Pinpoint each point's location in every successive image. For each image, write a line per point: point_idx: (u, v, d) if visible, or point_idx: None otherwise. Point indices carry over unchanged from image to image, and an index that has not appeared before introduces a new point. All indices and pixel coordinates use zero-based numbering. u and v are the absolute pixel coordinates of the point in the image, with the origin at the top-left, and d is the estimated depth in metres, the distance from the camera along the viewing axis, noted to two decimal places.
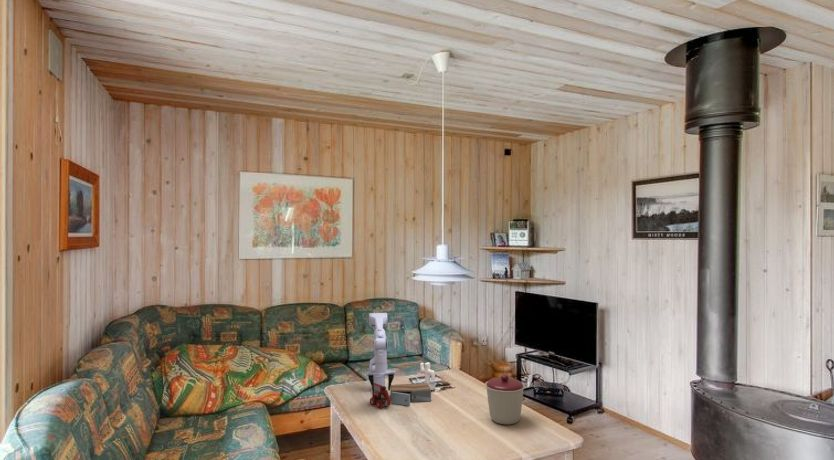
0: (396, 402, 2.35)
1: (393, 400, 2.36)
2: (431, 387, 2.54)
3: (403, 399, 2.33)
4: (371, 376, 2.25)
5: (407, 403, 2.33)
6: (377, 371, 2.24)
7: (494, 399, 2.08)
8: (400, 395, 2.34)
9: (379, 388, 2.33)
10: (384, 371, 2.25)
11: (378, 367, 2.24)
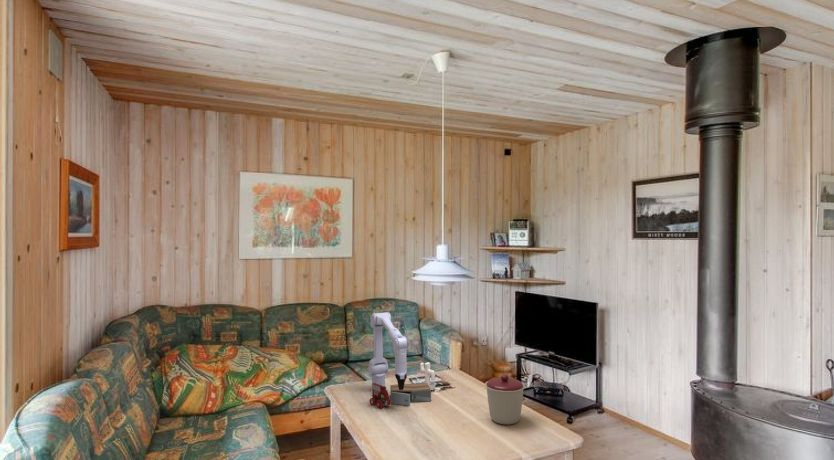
0: (396, 402, 2.35)
1: (393, 400, 2.36)
2: (431, 387, 2.54)
3: (403, 399, 2.33)
4: None
5: (407, 403, 2.33)
6: None
7: (494, 399, 2.08)
8: (400, 395, 2.34)
9: (379, 388, 2.33)
10: (396, 370, 2.28)
11: None
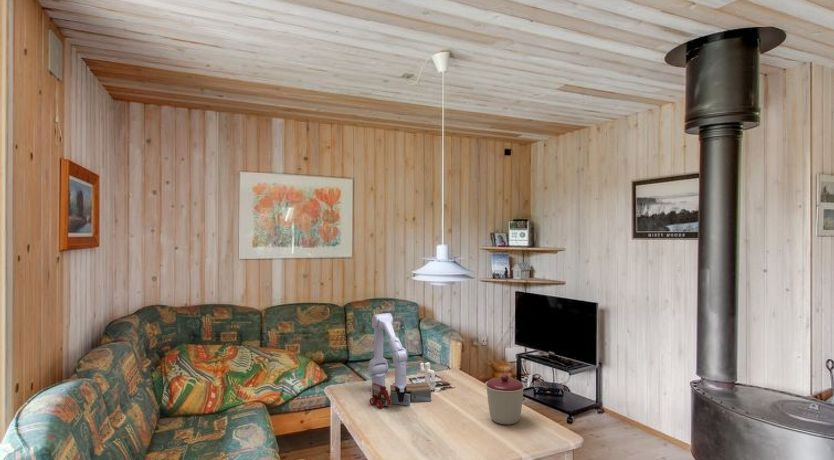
0: (396, 402, 2.35)
1: (393, 400, 2.36)
2: (431, 387, 2.54)
3: None
4: None
5: (407, 403, 2.33)
6: None
7: (494, 399, 2.08)
8: None
9: (379, 388, 2.33)
10: (396, 383, 2.30)
11: None
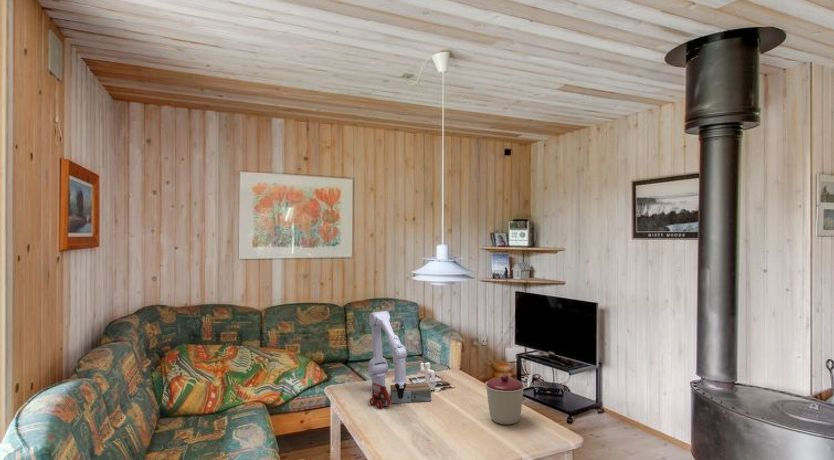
0: (397, 401, 2.36)
1: (394, 400, 2.36)
2: (431, 387, 2.54)
3: (405, 396, 2.37)
4: None
5: (409, 400, 2.37)
6: None
7: (494, 399, 2.08)
8: None
9: (379, 388, 2.33)
10: (396, 380, 2.34)
11: None
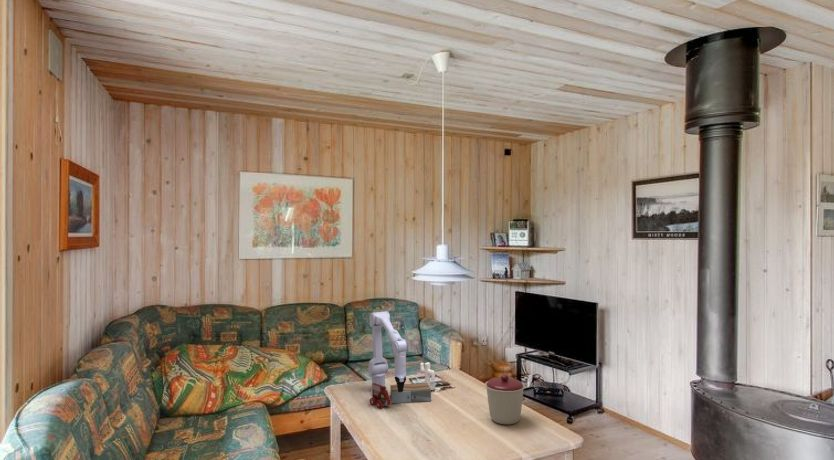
0: (397, 401, 2.36)
1: (394, 400, 2.36)
2: (431, 387, 2.54)
3: (405, 396, 2.37)
4: None
5: (409, 400, 2.37)
6: None
7: (494, 399, 2.08)
8: (401, 393, 2.37)
9: (379, 388, 2.33)
10: (396, 373, 2.31)
11: None
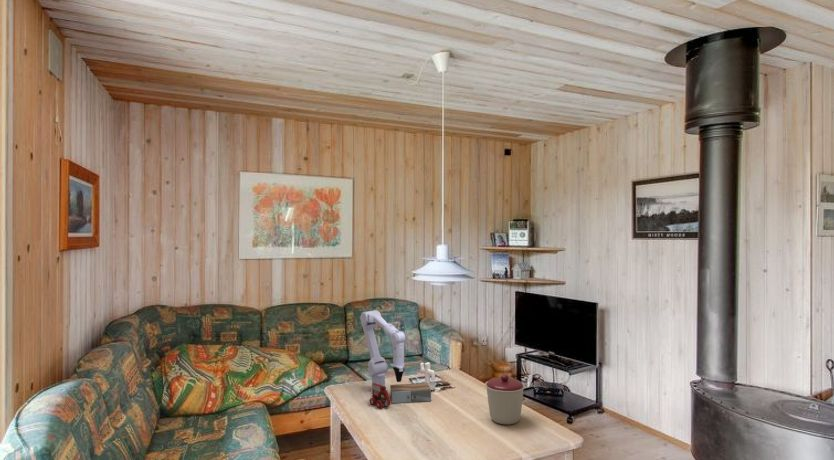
0: (397, 401, 2.36)
1: (394, 400, 2.36)
2: (431, 387, 2.54)
3: (405, 396, 2.37)
4: None
5: (409, 400, 2.37)
6: None
7: (494, 399, 2.08)
8: (401, 393, 2.37)
9: (379, 388, 2.33)
10: (394, 363, 2.40)
11: None
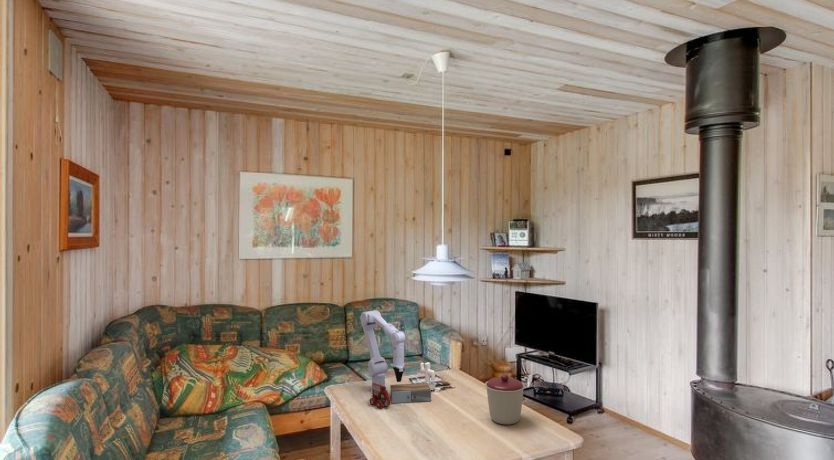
0: (397, 401, 2.36)
1: (394, 400, 2.36)
2: (431, 387, 2.54)
3: (405, 396, 2.37)
4: None
5: (409, 400, 2.37)
6: None
7: (494, 399, 2.08)
8: (401, 393, 2.37)
9: (379, 388, 2.33)
10: (394, 363, 2.40)
11: None
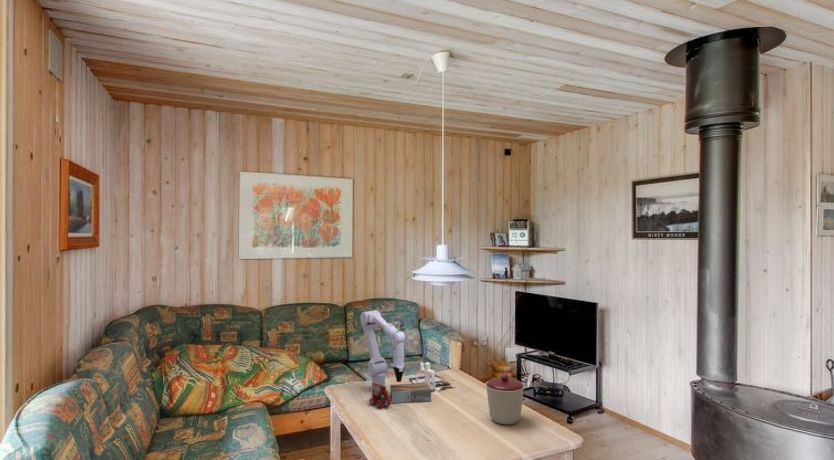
0: (397, 401, 2.36)
1: (394, 400, 2.36)
2: (431, 387, 2.54)
3: (405, 396, 2.37)
4: None
5: (409, 400, 2.37)
6: None
7: (494, 399, 2.08)
8: (401, 393, 2.37)
9: (379, 388, 2.33)
10: (394, 363, 2.40)
11: None
